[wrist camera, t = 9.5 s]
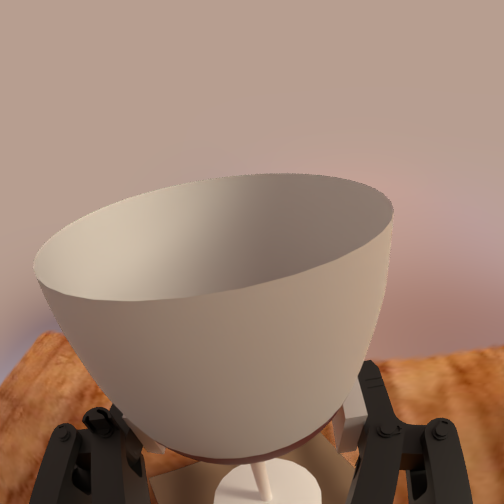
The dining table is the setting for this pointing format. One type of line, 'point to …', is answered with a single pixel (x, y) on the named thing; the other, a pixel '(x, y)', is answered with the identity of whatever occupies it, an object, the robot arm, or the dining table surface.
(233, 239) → the wineglass
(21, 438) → the dining table surface
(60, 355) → the dining table surface
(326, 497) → the walnut board
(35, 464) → the dining table surface
